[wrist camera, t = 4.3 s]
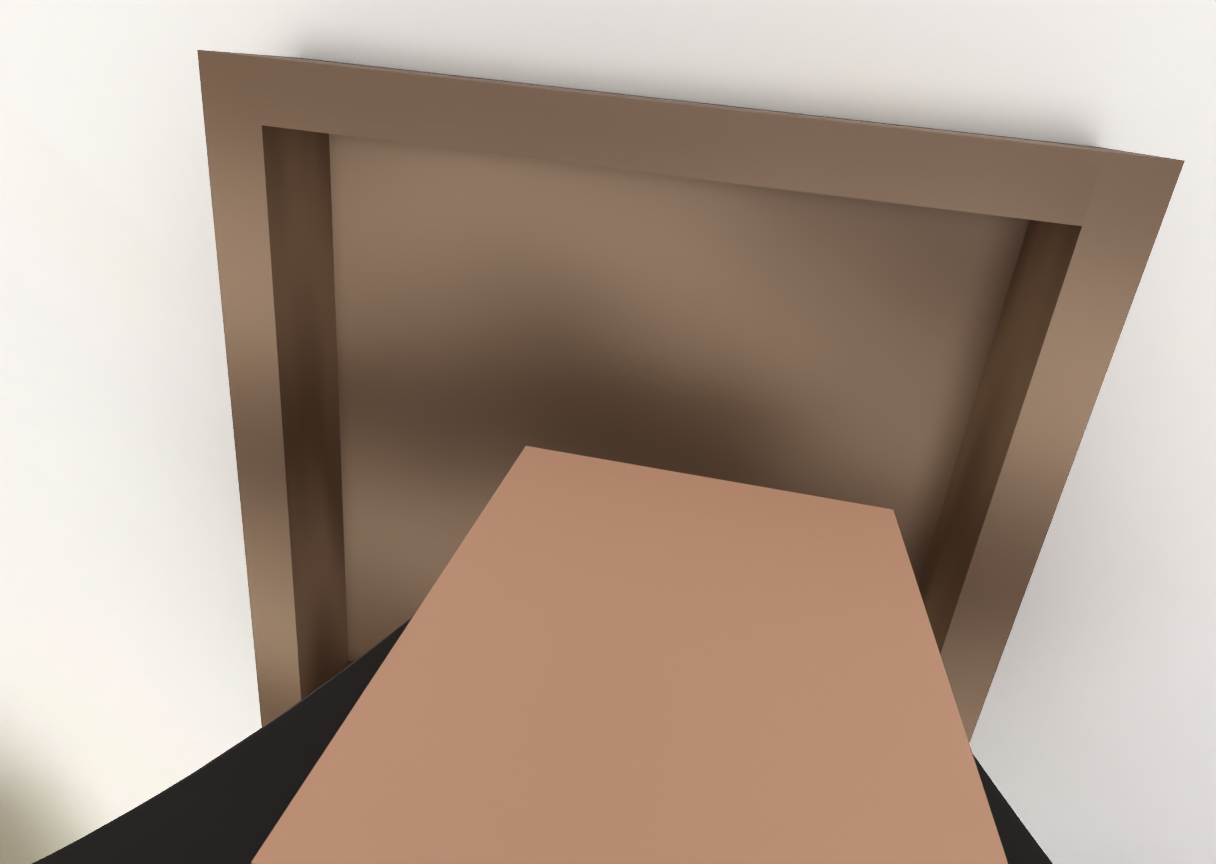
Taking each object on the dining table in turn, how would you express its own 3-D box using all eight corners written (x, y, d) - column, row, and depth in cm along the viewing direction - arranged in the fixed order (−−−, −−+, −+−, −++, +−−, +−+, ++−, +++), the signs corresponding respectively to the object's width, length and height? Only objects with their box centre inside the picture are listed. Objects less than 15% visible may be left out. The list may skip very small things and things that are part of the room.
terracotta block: (812, 787, 11) (864, 1428, 6) (505, 721, 12) (290, 1253, 6) (892, 510, 10) (1071, 1062, 4) (526, 445, 10) (251, 861, 5)
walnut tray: (892, 779, 19) (913, 891, 17) (327, 664, 21) (264, 748, 18) (1099, 146, 14) (1184, 160, 11) (297, 57, 15) (197, 49, 13)
